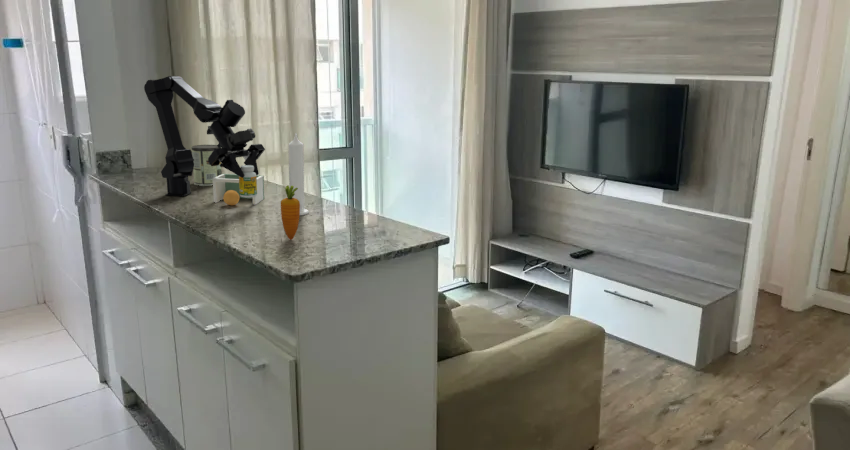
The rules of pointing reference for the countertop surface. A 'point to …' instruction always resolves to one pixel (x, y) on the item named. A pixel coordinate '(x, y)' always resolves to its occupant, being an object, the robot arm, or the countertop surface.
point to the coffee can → (204, 165)
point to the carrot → (290, 212)
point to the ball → (231, 197)
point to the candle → (297, 171)
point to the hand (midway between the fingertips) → (250, 175)
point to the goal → (235, 187)
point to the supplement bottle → (248, 182)
